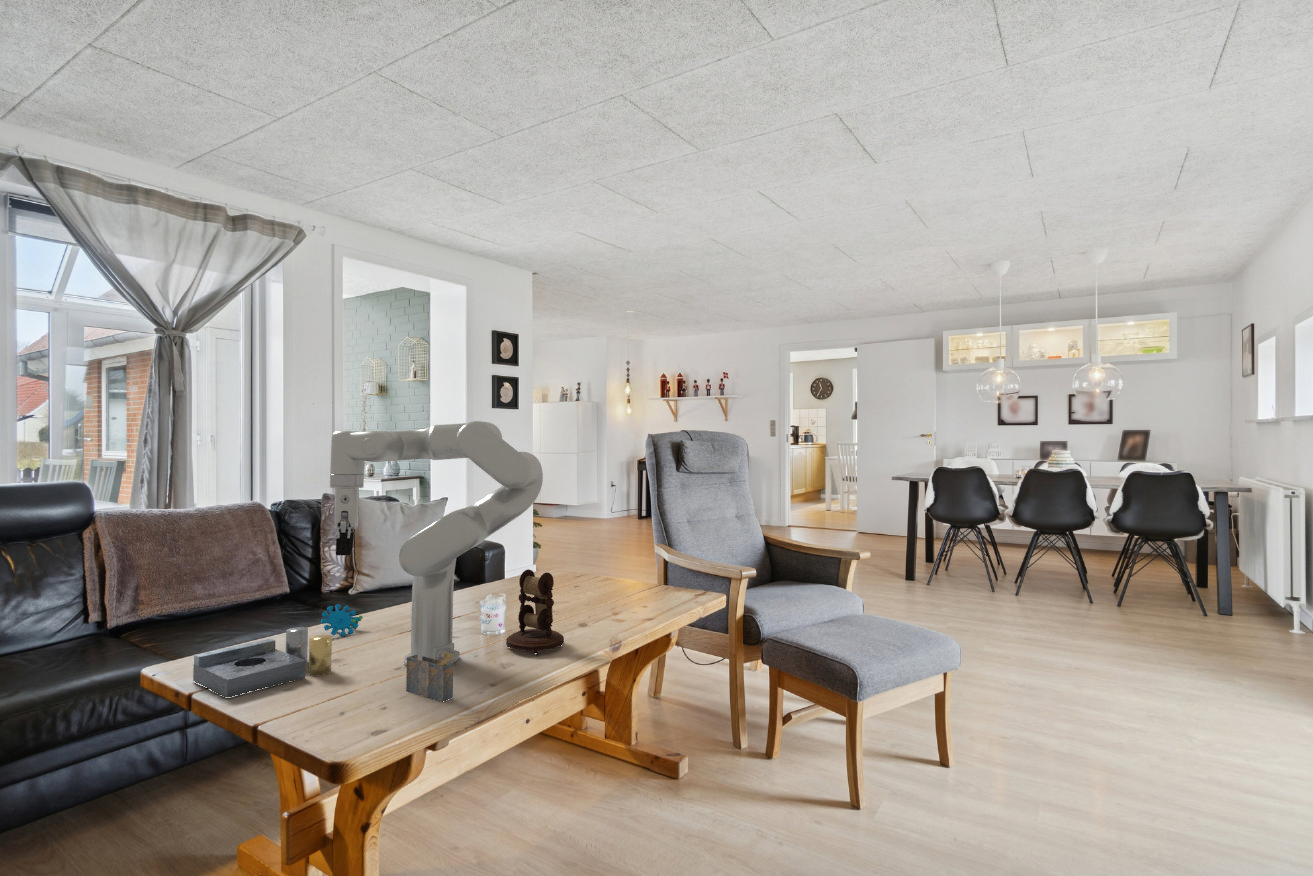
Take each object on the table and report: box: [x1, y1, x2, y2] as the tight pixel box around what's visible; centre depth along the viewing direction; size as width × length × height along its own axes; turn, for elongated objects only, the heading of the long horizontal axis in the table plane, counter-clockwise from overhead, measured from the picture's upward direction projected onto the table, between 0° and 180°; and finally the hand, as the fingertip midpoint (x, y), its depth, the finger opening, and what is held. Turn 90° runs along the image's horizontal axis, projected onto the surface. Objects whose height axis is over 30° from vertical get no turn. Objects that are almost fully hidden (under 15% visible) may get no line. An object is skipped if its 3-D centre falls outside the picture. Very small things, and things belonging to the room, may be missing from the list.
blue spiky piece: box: [320, 603, 364, 637], centre depth 189 cm, size 11×6×10 cm
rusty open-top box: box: [405, 651, 454, 703], centre depth 144 cm, size 11×3×10 cm, turn 59°
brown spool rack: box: [505, 569, 565, 654], centre depth 178 cm, size 15×15×20 cm
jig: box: [192, 638, 306, 697], centre depth 151 cm, size 16×16×6 cm
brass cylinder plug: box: [308, 634, 333, 676], centre depth 157 cm, size 5×5×8 cm
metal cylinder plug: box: [285, 626, 309, 665], centre depth 163 cm, size 5×5×8 cm
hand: (344, 551), depth 167 cm, fingers open, 9 cm apart
